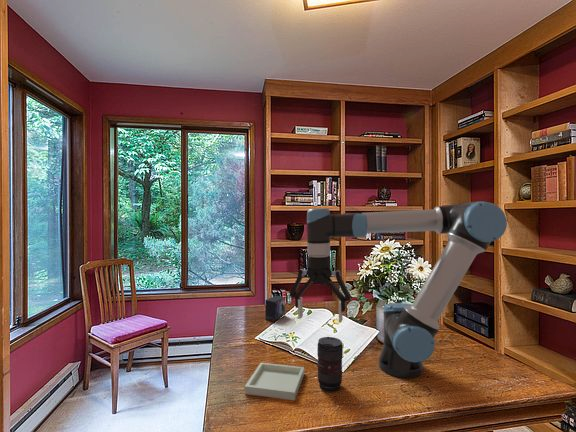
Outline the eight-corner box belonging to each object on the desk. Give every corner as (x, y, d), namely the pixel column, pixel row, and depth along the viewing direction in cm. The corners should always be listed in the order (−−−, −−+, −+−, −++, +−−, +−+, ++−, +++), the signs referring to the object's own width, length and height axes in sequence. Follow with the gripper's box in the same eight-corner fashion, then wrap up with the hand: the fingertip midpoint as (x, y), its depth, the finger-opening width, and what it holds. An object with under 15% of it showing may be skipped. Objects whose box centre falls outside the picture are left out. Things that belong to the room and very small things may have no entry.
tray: (304, 374, 114) (304, 367, 114) (294, 400, 98) (294, 392, 98) (260, 369, 118) (260, 362, 118) (244, 393, 102) (244, 386, 102)
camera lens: (342, 395, 101) (342, 347, 101) (316, 392, 103) (316, 345, 102) (343, 381, 109) (343, 337, 109) (318, 379, 111) (318, 335, 110)
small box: (275, 322, 166) (275, 301, 166) (264, 319, 170) (264, 299, 169) (286, 316, 175) (285, 296, 175) (275, 314, 179) (275, 295, 178)
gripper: (358, 254, 107) (359, 318, 108) (286, 252, 115) (288, 312, 116) (355, 258, 100) (357, 326, 100) (279, 256, 108) (280, 319, 109)
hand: (320, 319), depth 108 cm, fingers open, 13 cm apart
